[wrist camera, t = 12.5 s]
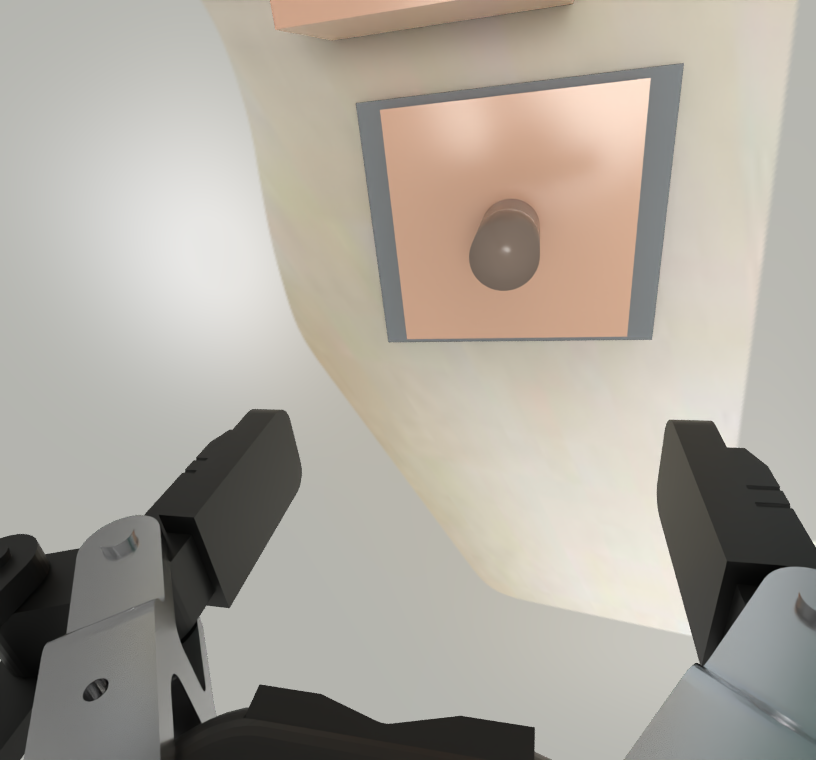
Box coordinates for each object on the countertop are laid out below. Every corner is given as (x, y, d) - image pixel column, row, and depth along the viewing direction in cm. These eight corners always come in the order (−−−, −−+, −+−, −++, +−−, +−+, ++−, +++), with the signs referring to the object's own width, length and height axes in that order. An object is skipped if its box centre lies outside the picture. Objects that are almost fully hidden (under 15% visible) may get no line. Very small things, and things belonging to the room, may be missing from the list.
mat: (390, 338, 36) (388, 342, 35) (359, 102, 29) (355, 103, 28) (650, 335, 32) (651, 339, 31) (680, 63, 25) (683, 63, 25)
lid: (409, 334, 34) (385, 380, 29) (383, 109, 28) (347, 115, 23) (625, 331, 31) (642, 383, 26) (647, 77, 25) (677, 77, 20)
